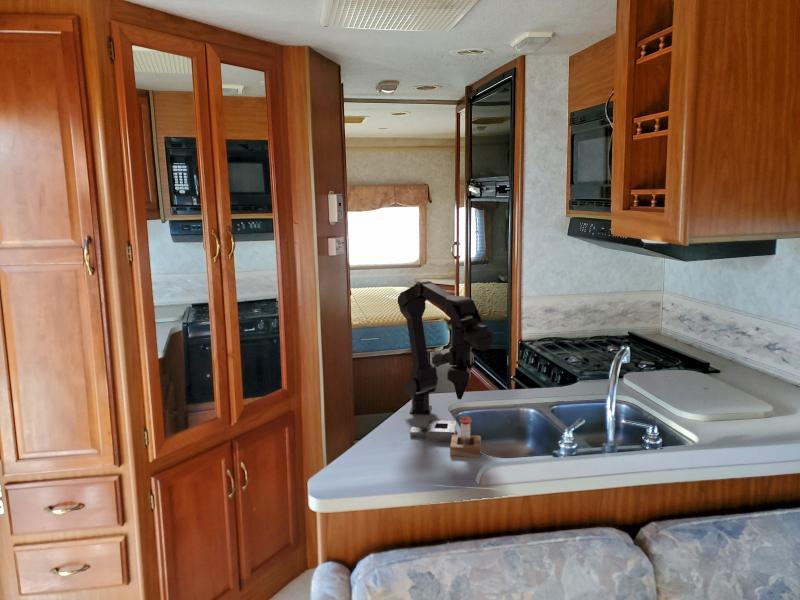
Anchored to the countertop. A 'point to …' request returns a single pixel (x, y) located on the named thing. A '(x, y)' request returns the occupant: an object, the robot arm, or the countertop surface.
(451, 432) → the block
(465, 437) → the hitch pin
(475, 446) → the frame
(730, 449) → the countertop surface
